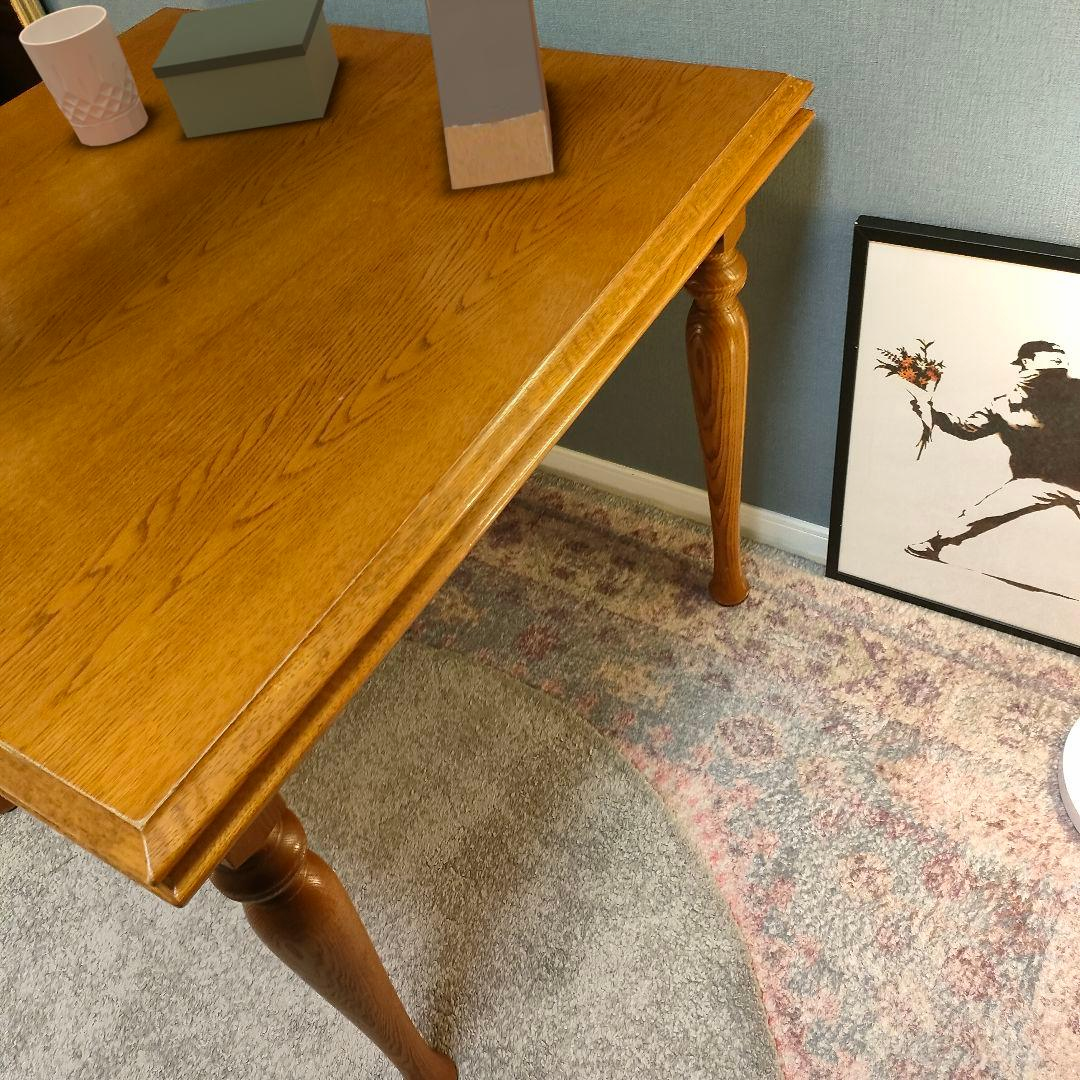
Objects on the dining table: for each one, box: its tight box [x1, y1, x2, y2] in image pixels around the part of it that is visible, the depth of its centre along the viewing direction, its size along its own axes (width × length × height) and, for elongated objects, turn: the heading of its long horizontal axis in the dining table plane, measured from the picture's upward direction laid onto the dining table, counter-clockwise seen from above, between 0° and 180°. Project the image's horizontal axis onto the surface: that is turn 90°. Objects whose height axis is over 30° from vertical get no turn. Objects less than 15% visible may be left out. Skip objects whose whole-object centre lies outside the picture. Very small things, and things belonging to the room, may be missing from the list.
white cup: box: [18, 4, 149, 147], centre depth 92 cm, size 8×8×10 cm
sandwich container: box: [424, 0, 555, 190], centre depth 78 cm, size 9×15×15 cm, turn 3°
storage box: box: [151, 0, 340, 139], centre depth 93 cm, size 14×12×7 cm
